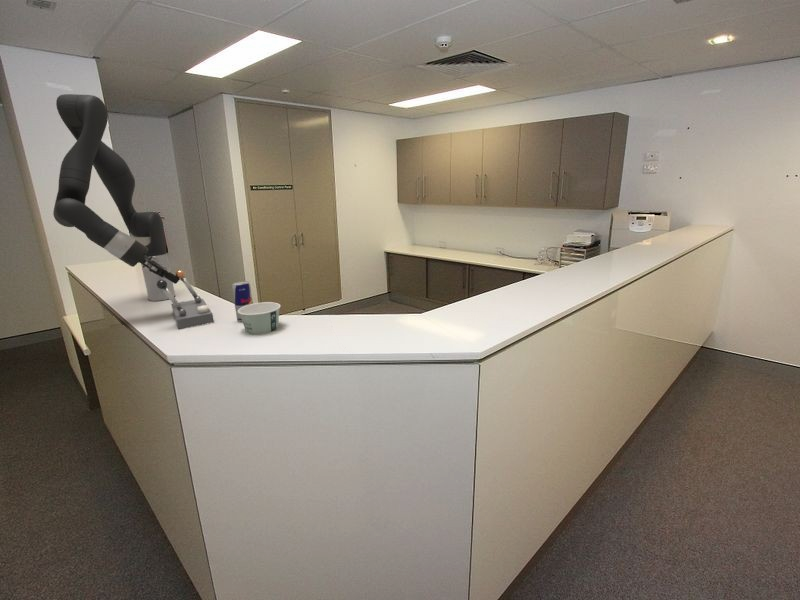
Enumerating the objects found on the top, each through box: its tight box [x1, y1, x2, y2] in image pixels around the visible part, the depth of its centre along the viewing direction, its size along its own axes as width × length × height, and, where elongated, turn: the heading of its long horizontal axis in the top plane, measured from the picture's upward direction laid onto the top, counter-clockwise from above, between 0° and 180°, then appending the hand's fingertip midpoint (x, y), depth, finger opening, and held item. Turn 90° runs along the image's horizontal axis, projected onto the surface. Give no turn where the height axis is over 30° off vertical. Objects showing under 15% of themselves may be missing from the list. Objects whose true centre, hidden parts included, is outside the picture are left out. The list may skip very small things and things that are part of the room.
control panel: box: [171, 298, 215, 330], centre depth 135 cm, size 22×10×3 cm, turn 32°
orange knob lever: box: [174, 269, 202, 303], centre depth 138 cm, size 3×3×13 cm
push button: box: [197, 304, 210, 313], centre depth 130 cm, size 3×3×2 cm
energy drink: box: [231, 280, 254, 323], centre depth 129 cm, size 5×5×12 cm
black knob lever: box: [156, 280, 186, 316], centre depth 124 cm, size 3×3×13 cm
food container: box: [238, 301, 281, 335], centre depth 121 cm, size 12×12×7 cm
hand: (177, 281), depth 136 cm, fingers closed
